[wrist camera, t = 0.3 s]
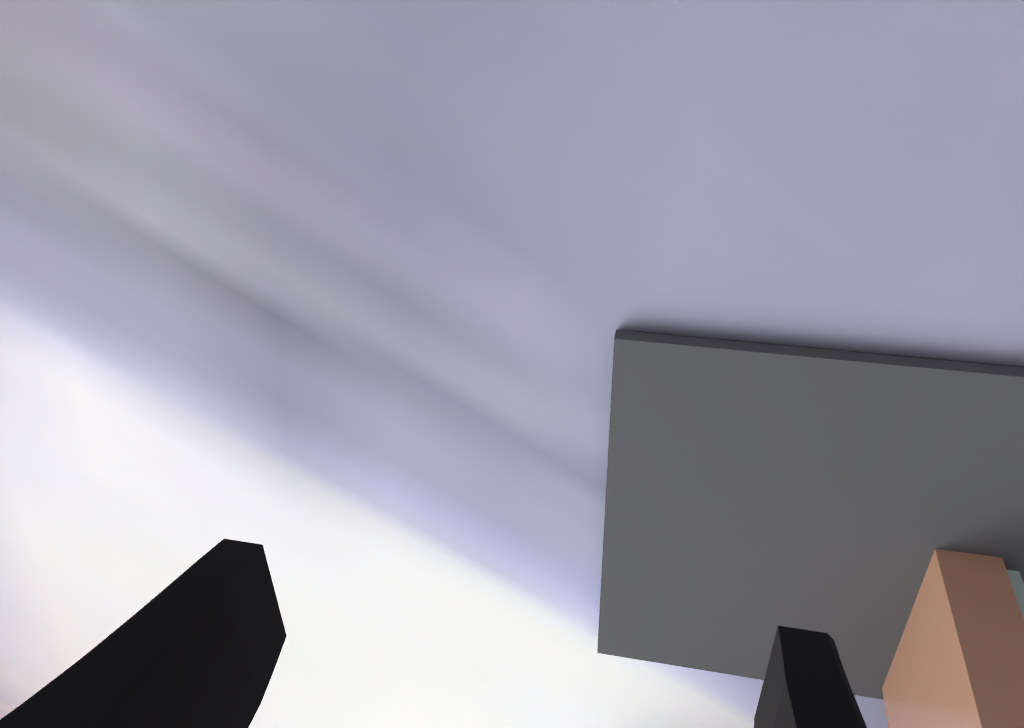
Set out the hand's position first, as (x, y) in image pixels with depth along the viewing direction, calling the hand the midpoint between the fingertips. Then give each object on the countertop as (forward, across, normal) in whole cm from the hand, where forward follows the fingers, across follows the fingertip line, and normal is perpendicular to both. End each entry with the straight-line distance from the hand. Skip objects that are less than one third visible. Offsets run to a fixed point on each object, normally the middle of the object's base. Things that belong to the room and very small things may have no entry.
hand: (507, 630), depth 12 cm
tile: (+10, -10, +10) cm, 17 cm away
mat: (+10, -9, +7) cm, 15 cm away
